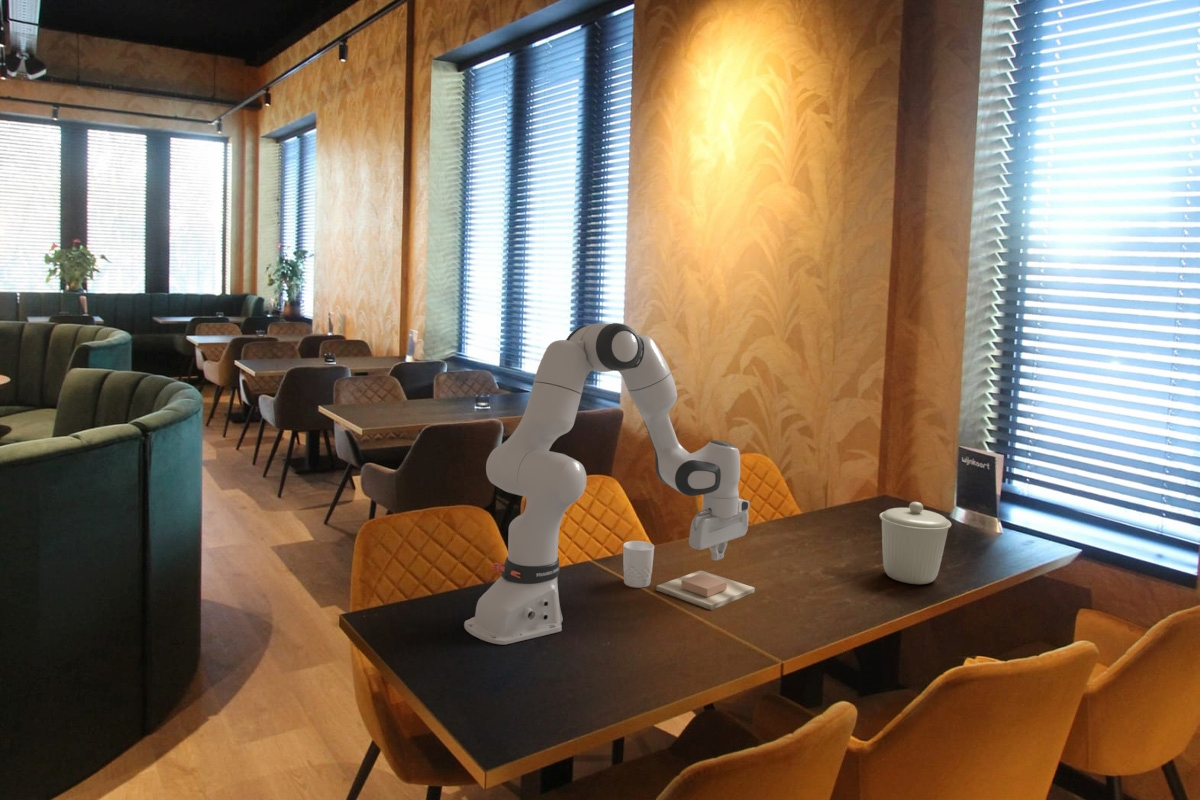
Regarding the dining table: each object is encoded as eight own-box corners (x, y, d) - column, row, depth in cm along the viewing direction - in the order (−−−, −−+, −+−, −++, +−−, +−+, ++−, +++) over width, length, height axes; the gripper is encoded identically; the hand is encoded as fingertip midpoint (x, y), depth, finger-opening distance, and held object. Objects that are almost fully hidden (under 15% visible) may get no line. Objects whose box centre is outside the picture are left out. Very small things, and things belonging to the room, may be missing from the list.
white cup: (650, 590, 213) (651, 551, 211) (619, 586, 214) (620, 548, 213) (654, 579, 220) (656, 542, 219) (624, 576, 222) (626, 539, 220)
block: (726, 590, 211) (707, 598, 205) (700, 581, 217) (681, 589, 211) (727, 581, 211) (707, 589, 205) (701, 573, 216) (681, 580, 210)
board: (711, 610, 201) (711, 605, 201) (656, 590, 213) (656, 585, 213) (754, 592, 214) (754, 587, 214) (700, 574, 226) (700, 570, 225)
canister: (956, 580, 229) (964, 503, 226) (927, 595, 217) (935, 515, 214) (893, 562, 242) (899, 490, 239) (862, 576, 229) (868, 500, 226)
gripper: (705, 515, 202) (702, 571, 204) (753, 501, 217) (750, 553, 219) (684, 510, 206) (681, 564, 208) (733, 496, 221) (730, 547, 223)
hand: (717, 559), depth 213 cm, fingers closed
